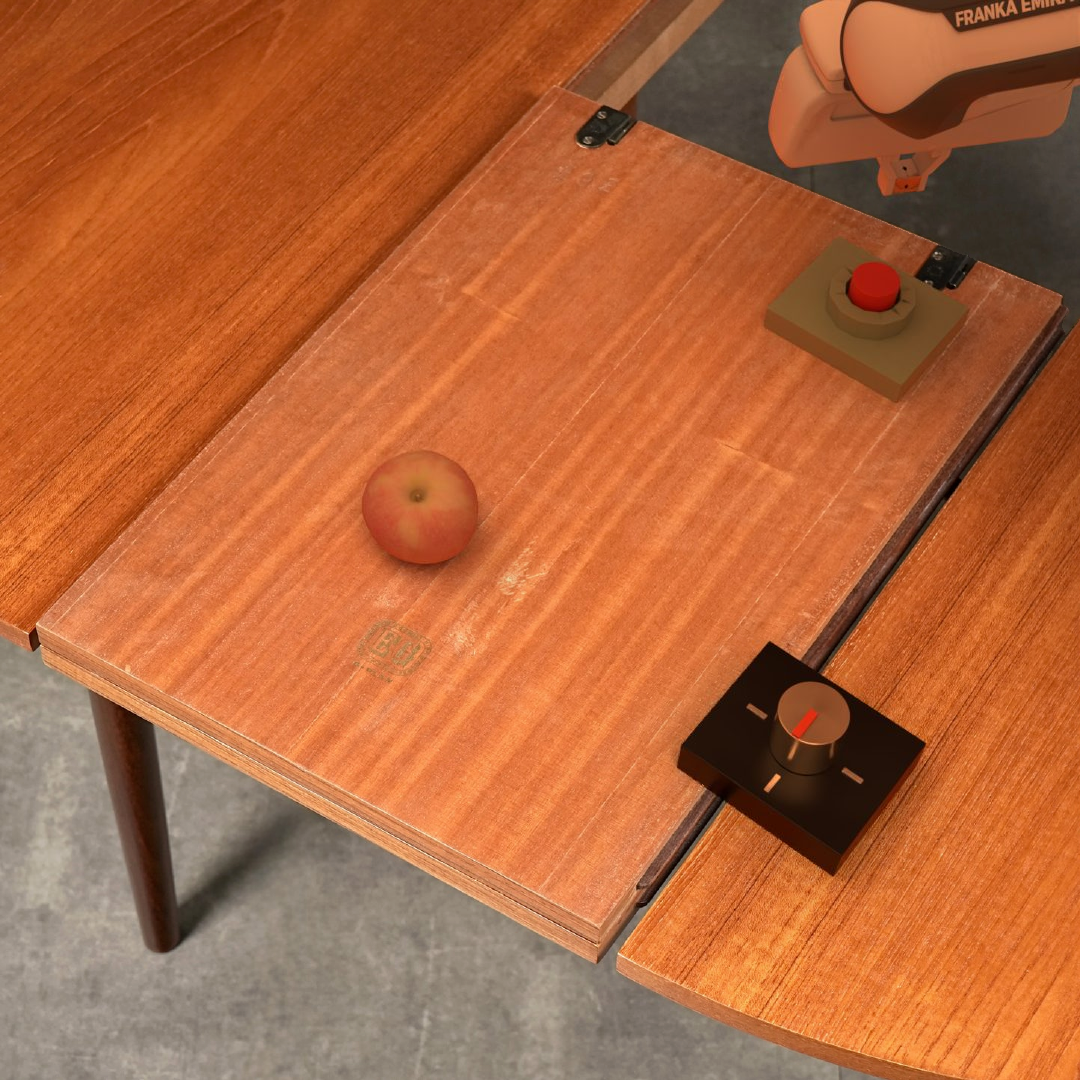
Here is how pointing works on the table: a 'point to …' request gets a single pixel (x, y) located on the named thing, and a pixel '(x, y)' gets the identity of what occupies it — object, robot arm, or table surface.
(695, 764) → the panel
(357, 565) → the table surface
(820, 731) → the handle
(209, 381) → the table surface
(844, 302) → the button block
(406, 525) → the apple
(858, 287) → the button
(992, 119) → the robot arm
